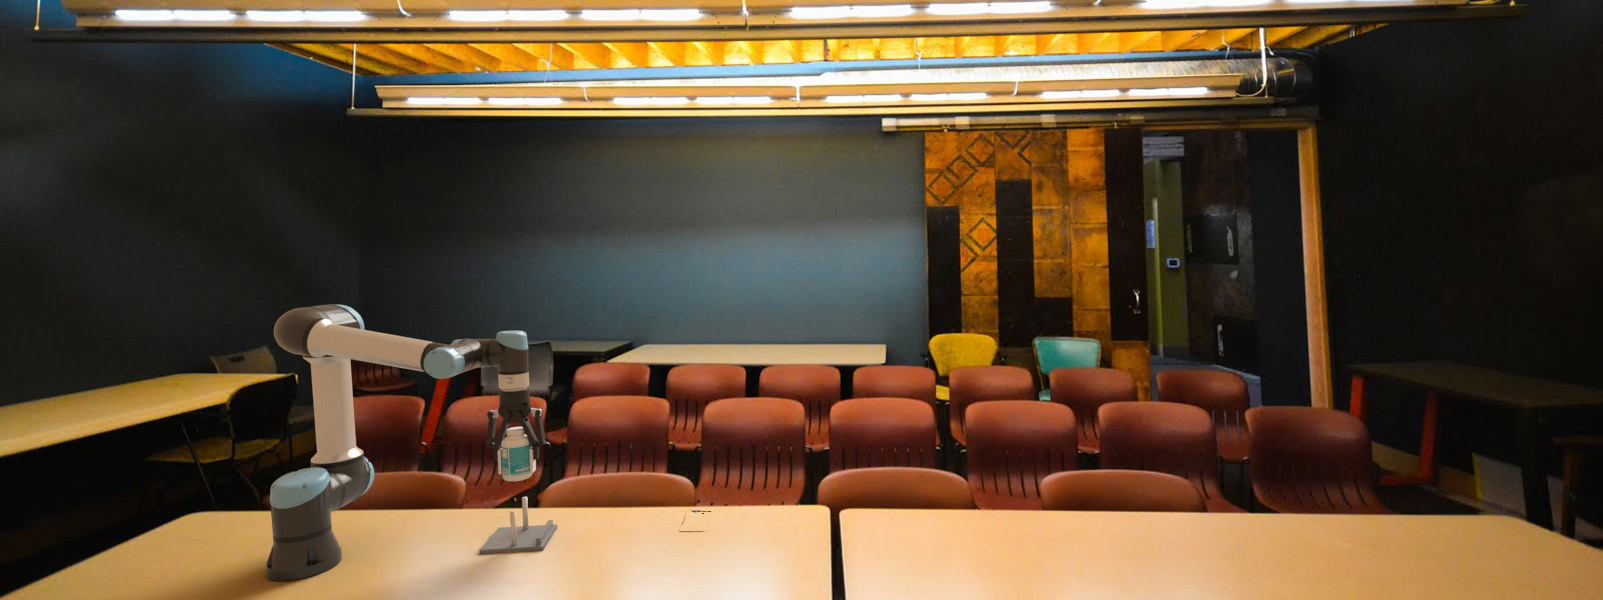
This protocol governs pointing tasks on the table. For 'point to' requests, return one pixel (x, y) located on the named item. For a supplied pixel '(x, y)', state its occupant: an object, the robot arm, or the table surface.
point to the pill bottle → (515, 455)
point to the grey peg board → (519, 535)
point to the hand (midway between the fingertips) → (517, 471)
